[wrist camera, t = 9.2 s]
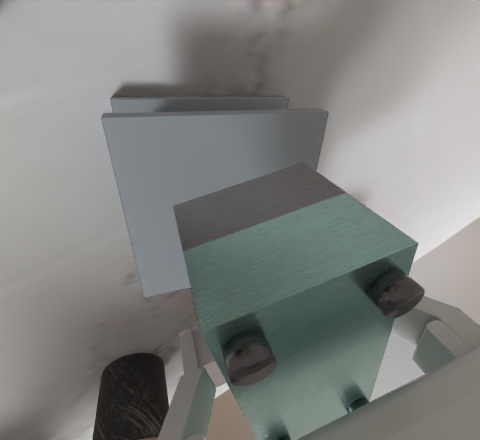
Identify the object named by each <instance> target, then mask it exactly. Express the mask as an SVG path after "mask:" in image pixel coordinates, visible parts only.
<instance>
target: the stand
mask: <svg viewBox="0 0 480 440" xmlns="http://www.w3.org/2000/svg"><path fill="white" fill-rule="evenodd" d="M110 101H111V106H112V111H113V113H103V115H102V117H101V119H102V124H103V128H104V132H105V136H106V140H107V144H108V149H109V153H110V157H111V161H112V165H113V170H114V174H115V178H116V182H117V186H118V190H119V195H120V199H121V203H122V207H123V211H124V215H125V220H126V224H127V228H128V232H129V236H130V240H131V245H132V249H133V253H134V257H135V261H136V265H137V270H138V274H139V278H140V282H141V286H142V290H143V295H144V298H145V297H149V296H154V295H159V294H163V293H168V292H173V291H178V290H182V289H187V288H191V286H190V281H189V277H188V273H187V268H186V264H185V259H184V255H183V250H182V246H181V241H180V237H179V232H178V228H177V223H176V219H175V214H174V210H173V206H174V205H177V204H180V203H183V202H186V201H189V200H192V199H195V198H198V197H201V196H204V195H207V194H210V193H213V192H216V191H219V190H222V189H225V188H228V187H231V186H234V185H237V184H240V183H243V182H246V181H249V180H252V179H255V178H258V177H261V176H264V175H267V174H270V173H273V172H276V171H279V170H282V169H285V168H288V167H291V166H294V165H297V164H300V163H305V164H306V165H308V166H309V167H311V168H312V169H313V170H315V171H316V169H317V164H318V160H319V155H320V150H321V146H322V141H323V136H324V131H325V127H326V122H327V117H328V113H329V112H327V111H324V110H321V109H288V101H289V98H287V97H284V96H212V97H111V99H110Z"/></svg>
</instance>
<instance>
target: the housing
mask: <svg viewBox="0 0 480 440" xmlns="http://www.w3.org/2000/svg"><path fill="white" fill-rule="evenodd" d="M173 210H174V214H175V219H176V223H177V228H178V232H179V237H180V241H181V246H182V250H183V255H184V259H185V264H186V268H187V273H188V277H189V281H190V286H191V290H192V295H193V299H194V304H195V308H196V313H197V317H198V322H199V326H200V331H201V334H202V336H203V338H204V340H205V342H206V344H207V346H208V348H209V349H210V351H211V353H212V355H213V357H214V359H215V361H216V363H217V365H218V367H219V368H220V370H221V372H222V374H223V376H224V378H225V380H226V382H227V384H228V386H229V387H230V389H231V391H232V393H233V395H234V397H235V399H236V401H237V403H238V405H239V407H240V408H241V410H242V412H243V414H244V416H245V418H246V420H247V422H248V424H249V425H250V427H251V429H252V431H253V433H254V435H255V437H256V439H257V440H297V439H299V438H301V437H303V436H304V435H306V434H308V433H310V432H312V431H314V430H316V429H318V428H320V427H322V426H324V425H326V424H328V423H330V422H332V421H334V420H336V419H338V418H340V417H342V416H344V415H346V414H348V413H350V412H352V411H354V410H356V409H358V408H360V407H362V406H363V405H365V404H367V403H369V400H370V397H371V394H372V391H373V388H374V384H375V381H376V378H377V375H378V372H379V368H380V365H381V362H382V358H383V355H384V352H385V349H386V346H387V343H388V339H389V336H390V333H391V330H392V326H393V323H394V320H395V318H398V317H400V316H402V315H404V314H406V313H407V312H409V311H410V310H412V309H413V308H414V307H415V306H416V305H417V304H418V303H419V302H420V301H421V299H422V298H423V296H424V289H423V288H422V287H421V286H420V285H419V284H418V283H416V282H415V281H414V280H413V279H412V278H411V277H409V276H408V275H409V272H410V269H411V265H412V262H413V259H414V256H415V253H416V249H417V246H418V243H417V242H416V241H415V240H413V239H412V238H410V237H409V236H407V235H406V234H405V233H403V232H402V231H400V230H399V229H397V228H396V227H395V226H393V225H392V224H390V223H389V222H388V221H386V220H385V219H383V218H382V217H380V216H379V215H378V214H376V213H375V212H373V211H372V210H370V209H369V208H368V207H366V206H365V205H363V204H362V203H360V202H359V201H358V200H356V199H355V198H353V197H352V196H350V195H349V194H348V193H346V192H345V191H343V190H342V189H341V188H339V187H338V186H336V185H335V184H333V183H332V182H331V181H329V180H328V179H326V178H325V177H323V176H322V175H321V174H319V173H318V172H316V171H315V170H313V169H312V168H311V167H309V166H308V165H306V164H305V163H300V164H297V165H294V166H291V167H288V168H285V169H282V170H279V171H276V172H273V173H270V174H267V175H264V176H261V177H258V178H255V179H252V180H249V181H246V182H243V183H240V184H237V185H234V186H231V187H228V188H225V189H222V190H219V191H216V192H213V193H210V194H207V195H204V196H201V197H198V198H195V199H192V200H189V201H186V202H183V203H180V204H177V205H174V206H173Z"/></svg>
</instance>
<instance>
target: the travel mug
mask: <svg viewBox="0 0 480 440" xmlns="http://www.w3.org/2000/svg"><path fill="white" fill-rule="evenodd" d="M168 409H169V404H168V395H167V387H166V379H165V371H164V364H163V361H162V360H161V359H160V358H159V357H158V356H156V355H153V354H146V353H141V354H133V355H128V356H125V357H122V358H120V359H118V360H116V361H114V362H112V363H111V364H110V365H108V366H107V367H106V369H105V370H104V372H103V374H102V378H101V384H100V390H99V397H98V405H97V412H96V419H95V426H94V433H93V440H157V439H158V436H159V434H160V431H161V428H162V426H163V423H164V420H165V418H166V415H167V412H168Z"/></svg>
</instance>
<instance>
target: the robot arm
mask: <svg viewBox="0 0 480 440" xmlns="http://www.w3.org/2000/svg"><path fill="white" fill-rule="evenodd" d="M391 332H393V333H395V334H397V335H399V336H401V337H402V338H404V339H406V340H408V341H410V342H412V343H413V344H415V345H417V347H416V349H415V352H414V354H413V360H414V361H415V362H416V363H417V365H418V366H419V367H420V368H421V369H422V371H423V372H424V373H425V375H423V376H421V377H419V378H417V379H415V380H413V381H411V382H409V383H407V384H405V385H403V386H401V387H399V388H397V389H395V390H393V391H391V392H389V393H387V394H385V395H383V396H381V397H379V398H377V399H375V400H373V401H371V402H369V403H367V404H365V405H363V406H362V407H360V408H358V409H356V410H354V411H352V412H350V413H348V414H346V415H344V416H342V417H340V418H338V419H336V420H334V421H332V422H330V423H328V424H326V425H324V426H322V427H320V428H318V429H316V430H314V431H312V432H310V433H308V434H306V435H304V436H303V437H301V438H299V439H297V440H480V325H478V324H477V323H476V322H474V321H473V320H472V319H471V318H470V317H468V316H467V315H466V314H465V313H463V312H462V311H461V310H460V309H459V308H456V307H454V306H451V305H448V304H445V303H442V302H439V301H437V300H434V299H431V298H428V297H426V296H423V298H422V299H421V301H420V302H419V303H418V304H417V305H416V306H415V307H414V308H413V309H412V310H410V311H409V312H407V313H406V314H404V315H402V316H400V317H398V318H395V320H394V323H393V326H392V330H391ZM179 341H180V348H181V355H182V362H183V369H184V375H183V376H181V377H180V380H179V383H178V385H177V388H176V391H175V393H174V396H173V399H172V401H171V404H170V407H169V409H168V412H167V415H166V418H165V420H164V423H163V426H162V428H161V431H160V434H159V436H158V439H157V440H206V434H207V429H208V425H209V420H210V416H211V410H212V406H213V401H214V397H215V392H216V387H218V386H220V385H222V384H224V383H226V380H225V378H224V376H223V374H222V372H221V370H220V368H219V367H218V365H217V363H216V361H215V359H214V357H213V355H212V353H211V351H210V349H209V348H208V346H207V344H206V342H205V340H204V338H203V336H202V334H201V331H200V326H199V325H197V326H195V327H192V328H189V329H187V330H185V331H182V332H180V333H179Z"/></svg>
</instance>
